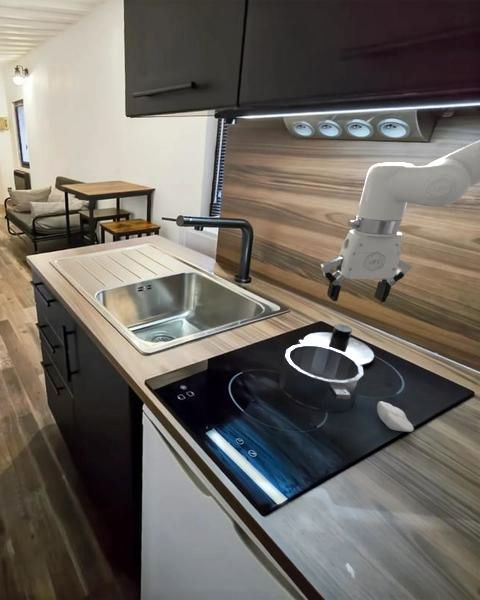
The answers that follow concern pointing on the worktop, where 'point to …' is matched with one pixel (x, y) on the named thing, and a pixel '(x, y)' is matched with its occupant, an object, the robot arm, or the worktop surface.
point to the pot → (320, 377)
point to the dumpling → (393, 417)
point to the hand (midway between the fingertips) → (355, 299)
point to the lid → (343, 343)
